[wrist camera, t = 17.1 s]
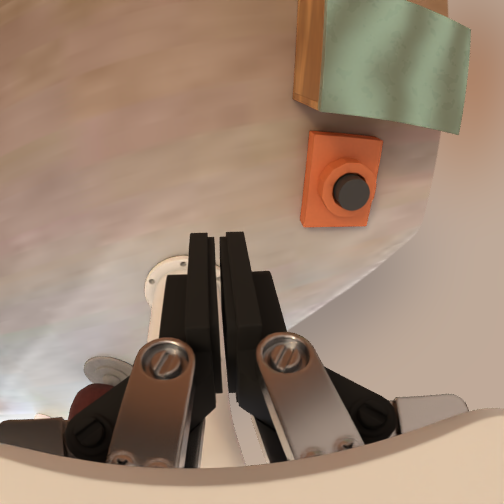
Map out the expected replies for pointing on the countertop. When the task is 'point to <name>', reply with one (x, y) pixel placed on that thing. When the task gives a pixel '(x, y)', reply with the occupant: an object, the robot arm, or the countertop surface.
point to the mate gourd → (99, 381)
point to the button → (351, 192)
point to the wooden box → (308, 52)
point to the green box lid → (394, 63)
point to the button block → (337, 177)
